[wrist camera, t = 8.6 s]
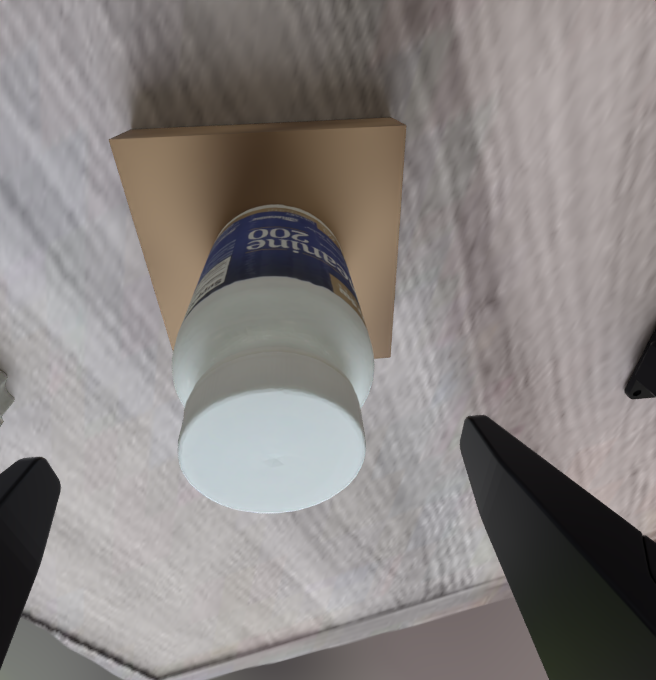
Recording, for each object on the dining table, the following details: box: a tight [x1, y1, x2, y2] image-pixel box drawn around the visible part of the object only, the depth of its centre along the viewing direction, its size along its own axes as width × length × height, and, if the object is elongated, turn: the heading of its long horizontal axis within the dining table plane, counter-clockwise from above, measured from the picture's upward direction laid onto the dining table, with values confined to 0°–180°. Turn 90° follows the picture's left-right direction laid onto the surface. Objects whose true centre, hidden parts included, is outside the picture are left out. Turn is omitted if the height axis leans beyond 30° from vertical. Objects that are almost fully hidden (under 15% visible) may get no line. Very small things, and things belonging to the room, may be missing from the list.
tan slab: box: [109, 117, 406, 359], centre depth 18 cm, size 10×10×2 cm
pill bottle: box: [172, 204, 374, 513], centre depth 13 cm, size 5×5×10 cm
